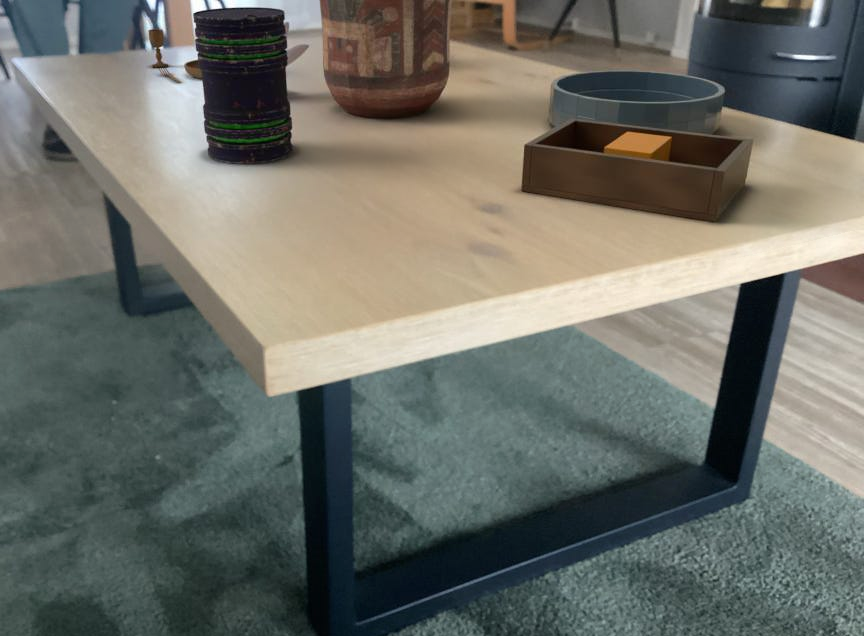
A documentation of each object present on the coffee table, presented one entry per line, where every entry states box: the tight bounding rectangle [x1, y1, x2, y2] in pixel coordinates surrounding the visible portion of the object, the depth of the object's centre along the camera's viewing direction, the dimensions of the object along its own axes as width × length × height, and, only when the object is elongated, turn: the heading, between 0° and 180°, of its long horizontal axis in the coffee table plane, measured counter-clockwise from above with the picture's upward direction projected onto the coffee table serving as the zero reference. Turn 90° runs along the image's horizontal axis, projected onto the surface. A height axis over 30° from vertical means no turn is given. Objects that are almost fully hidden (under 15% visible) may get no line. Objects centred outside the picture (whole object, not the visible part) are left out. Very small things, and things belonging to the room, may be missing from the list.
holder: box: [520, 118, 754, 223], centre depth 84 cm, size 19×13×5 cm
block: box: [604, 132, 672, 162], centre depth 84 cm, size 4×7×4 cm, turn 148°
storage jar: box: [192, 6, 294, 165], centre depth 95 cm, size 10×10×15 cm
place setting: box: [148, 28, 202, 83], centre depth 144 cm, size 18×20×6 cm
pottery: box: [319, 0, 453, 119], centre depth 114 cm, size 18×18×18 cm
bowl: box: [547, 69, 726, 135], centre depth 107 cm, size 20×20×5 cm
